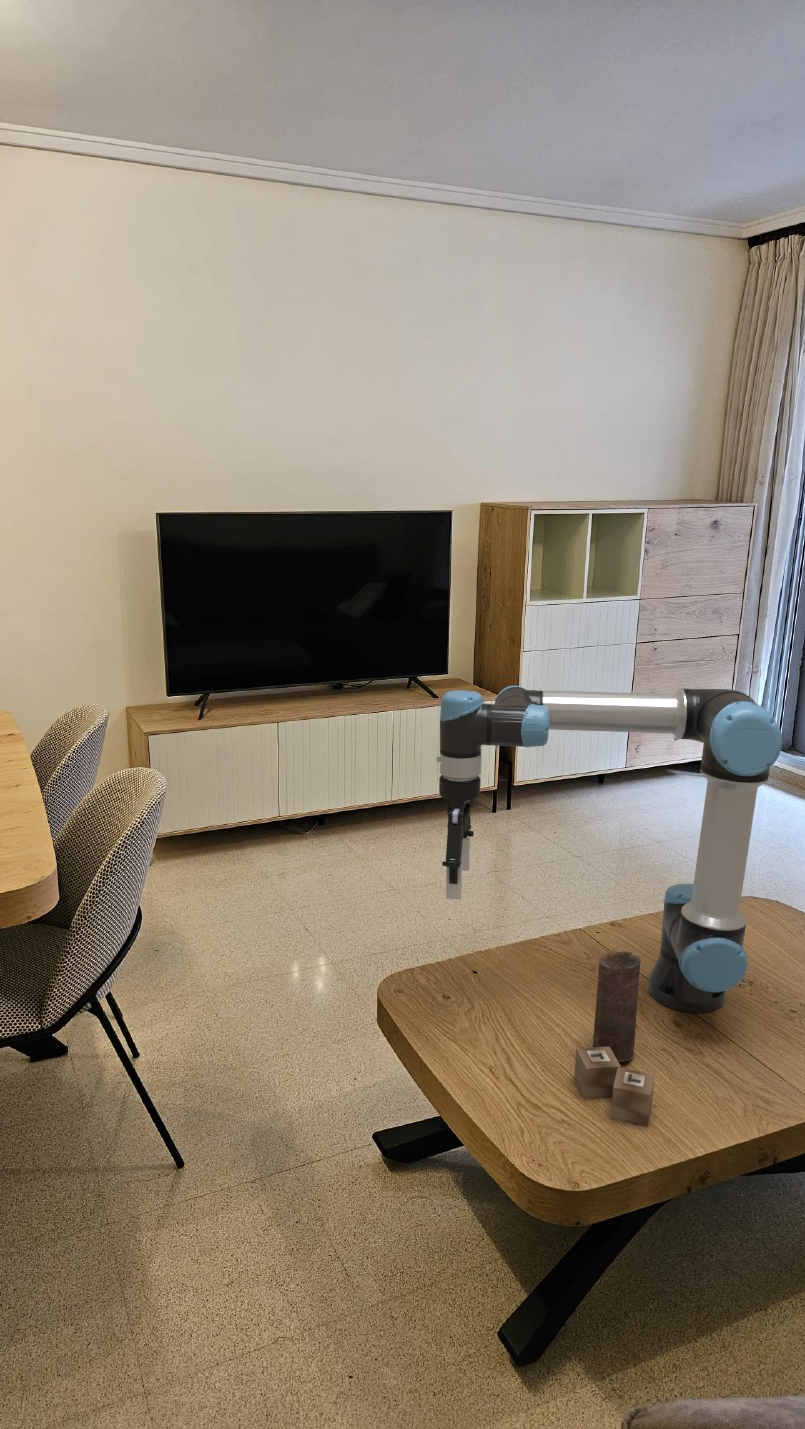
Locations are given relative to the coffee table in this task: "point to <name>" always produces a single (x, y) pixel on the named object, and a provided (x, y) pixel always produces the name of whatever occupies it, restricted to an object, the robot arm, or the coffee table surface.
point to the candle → (617, 1003)
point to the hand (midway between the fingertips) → (457, 883)
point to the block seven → (632, 1096)
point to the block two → (595, 1072)
